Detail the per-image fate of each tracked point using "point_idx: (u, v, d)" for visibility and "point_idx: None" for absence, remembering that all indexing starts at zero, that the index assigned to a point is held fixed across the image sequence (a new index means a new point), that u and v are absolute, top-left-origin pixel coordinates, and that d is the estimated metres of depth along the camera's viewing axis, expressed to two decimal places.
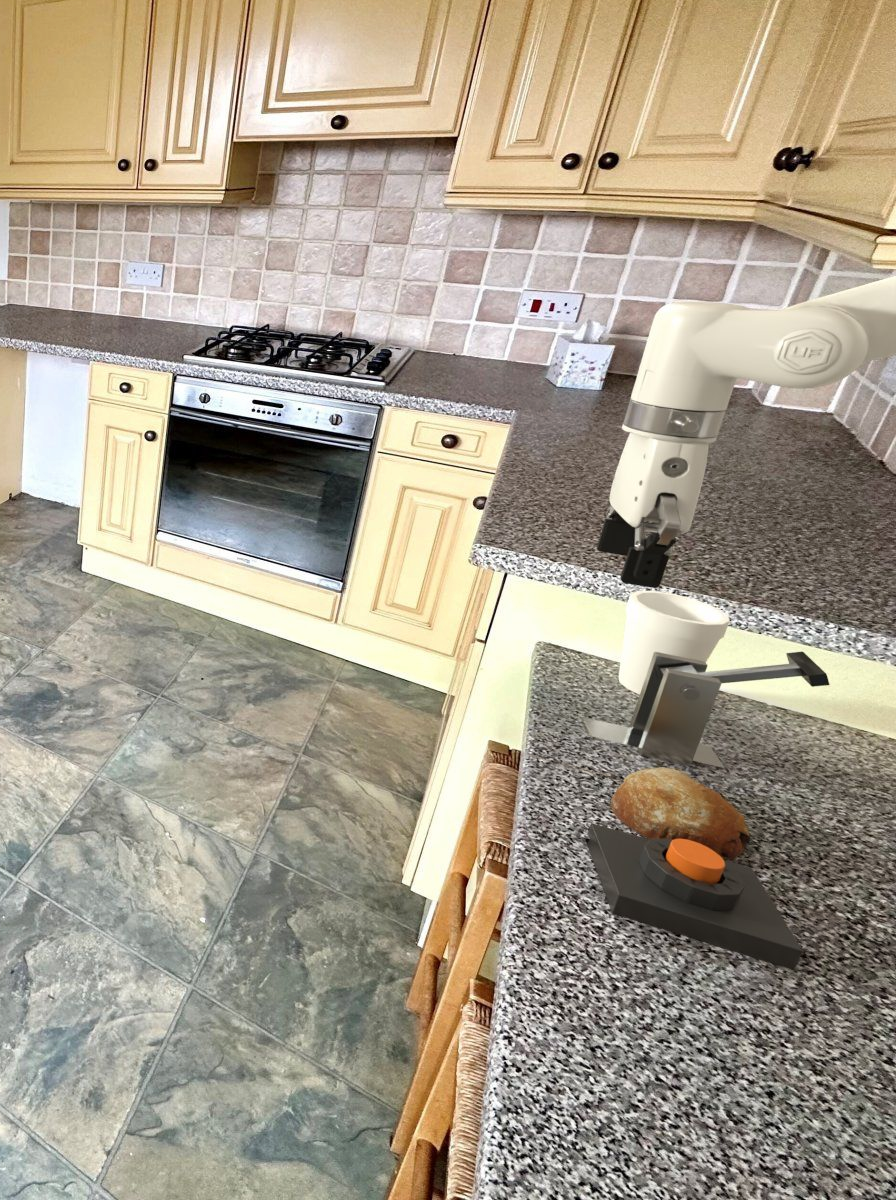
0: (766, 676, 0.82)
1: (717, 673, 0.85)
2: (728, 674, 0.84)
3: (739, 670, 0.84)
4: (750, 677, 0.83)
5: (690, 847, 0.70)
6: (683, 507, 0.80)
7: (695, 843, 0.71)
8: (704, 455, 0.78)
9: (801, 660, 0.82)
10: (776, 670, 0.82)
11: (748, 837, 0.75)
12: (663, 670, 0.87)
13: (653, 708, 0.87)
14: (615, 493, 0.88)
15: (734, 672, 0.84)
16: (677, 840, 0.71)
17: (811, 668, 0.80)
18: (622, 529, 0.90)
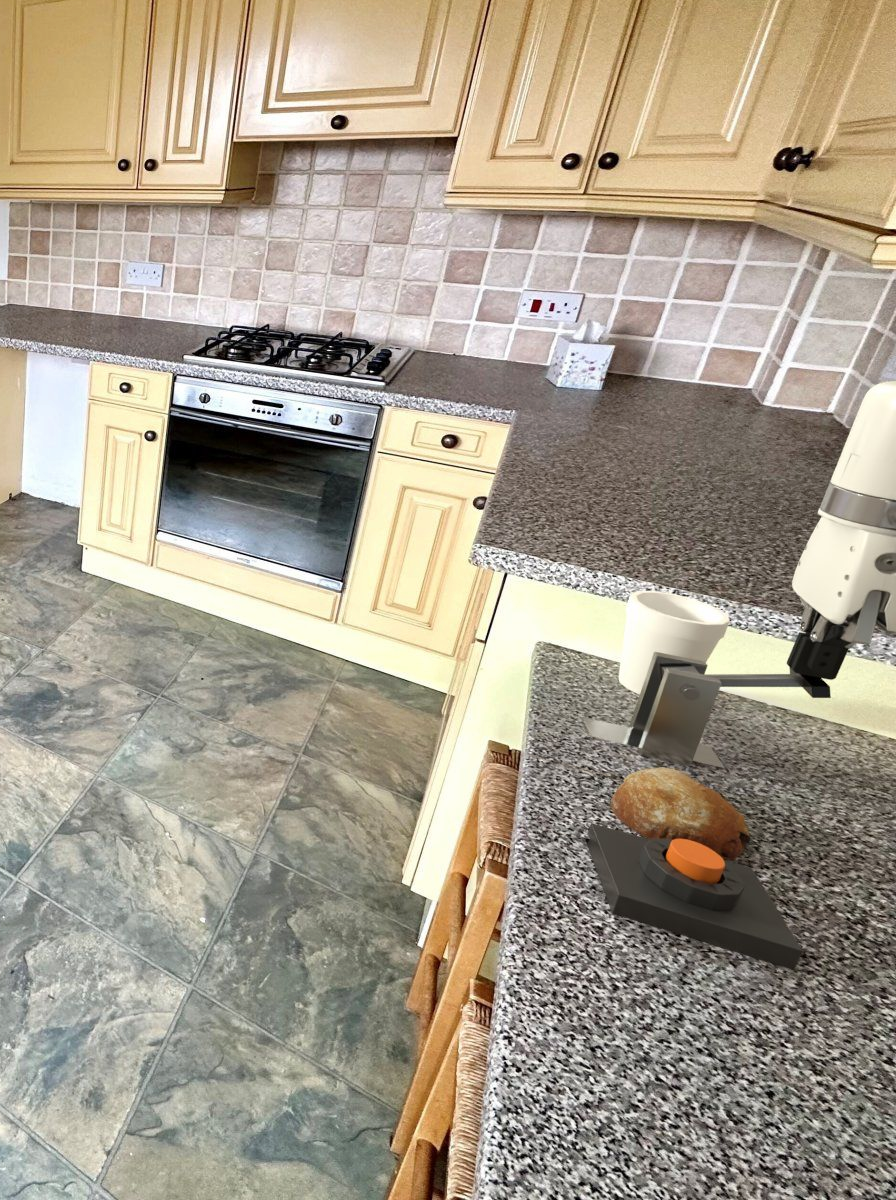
0: (767, 683, 0.83)
1: (718, 677, 0.85)
2: (730, 679, 0.84)
3: (741, 676, 0.84)
4: (751, 683, 0.83)
5: (690, 847, 0.70)
6: None
7: (695, 843, 0.71)
8: None
9: None
10: (778, 679, 0.82)
11: (748, 837, 0.75)
12: (665, 669, 0.87)
13: (653, 708, 0.87)
14: (803, 581, 0.81)
15: (735, 677, 0.84)
16: (677, 840, 0.71)
17: (814, 680, 0.80)
18: None
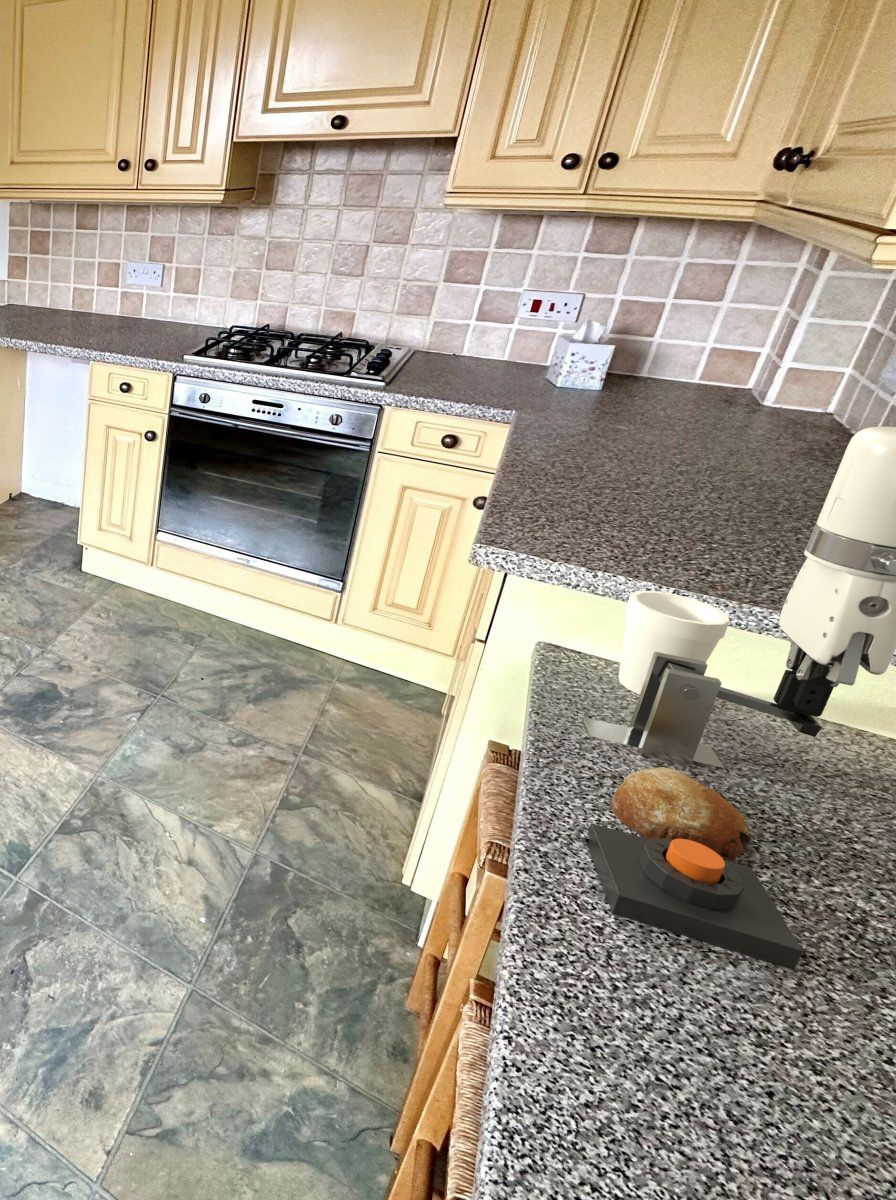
0: (760, 707, 0.83)
1: None
2: (729, 693, 0.84)
3: (739, 693, 0.84)
4: (745, 703, 0.84)
5: (690, 847, 0.70)
6: (881, 649, 0.74)
7: (695, 843, 0.71)
8: None
9: None
10: (773, 707, 0.83)
11: (748, 837, 0.75)
12: (672, 665, 0.87)
13: (653, 708, 0.87)
14: (790, 619, 0.82)
15: (734, 693, 0.84)
16: (677, 840, 0.71)
17: (807, 718, 0.81)
18: None
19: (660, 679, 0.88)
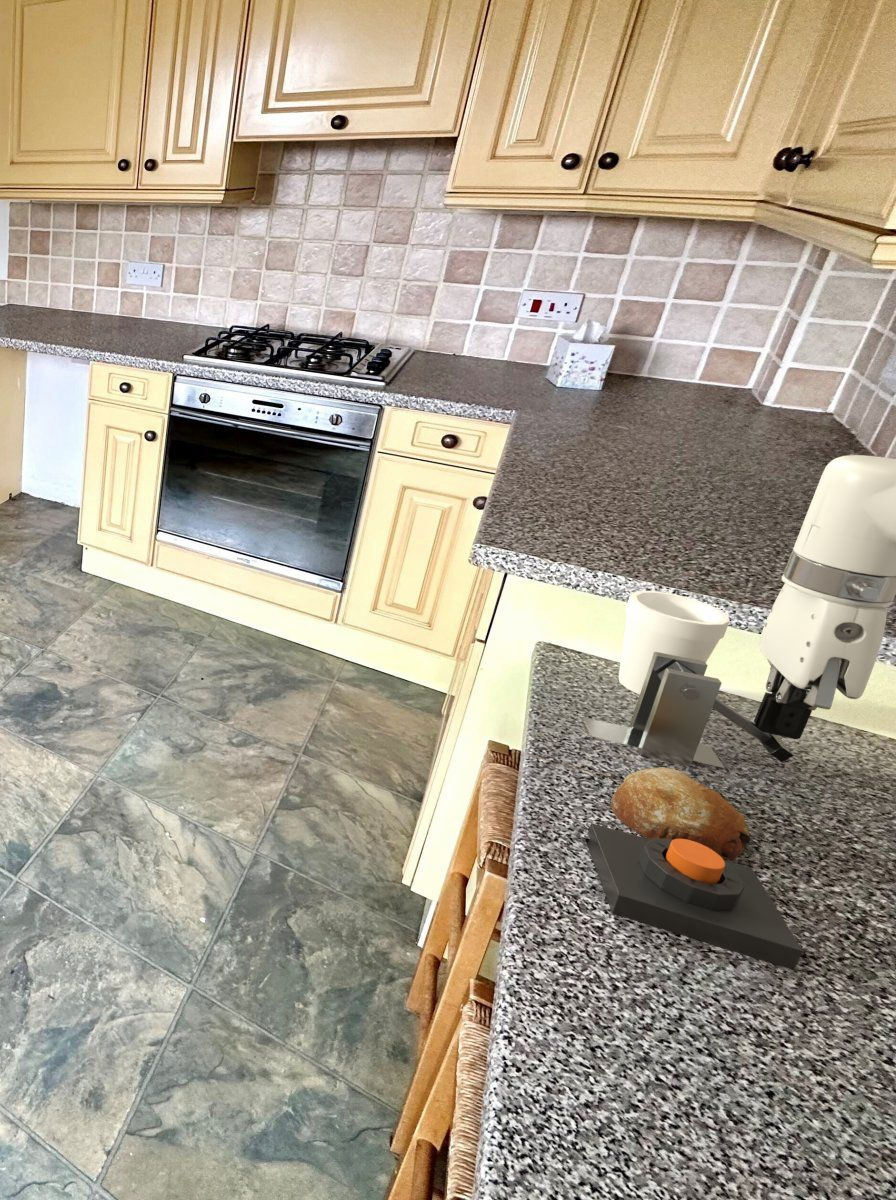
0: (742, 724, 0.84)
1: None
2: (721, 703, 0.85)
3: (729, 706, 0.85)
4: (731, 716, 0.85)
5: (690, 847, 0.70)
6: (857, 674, 0.76)
7: (695, 843, 0.71)
8: (882, 622, 0.74)
9: None
10: (754, 726, 0.84)
11: (748, 837, 0.75)
12: (679, 664, 0.86)
13: (653, 708, 0.87)
14: (769, 643, 0.84)
15: (725, 705, 0.85)
16: (677, 840, 0.71)
17: (782, 744, 0.83)
18: None
19: (660, 674, 0.88)
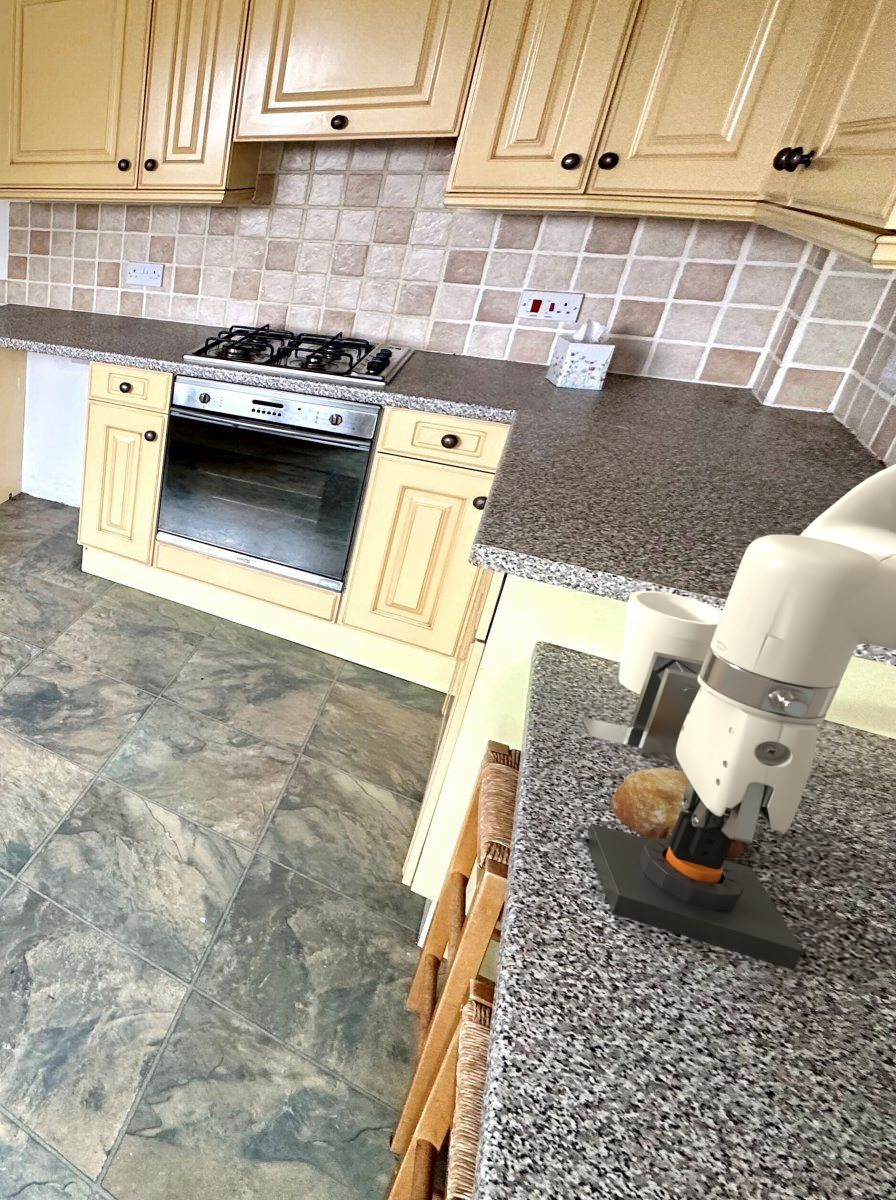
0: None
1: None
2: None
3: None
4: None
5: None
6: (782, 804, 0.62)
7: None
8: (812, 743, 0.60)
9: None
10: None
11: None
12: (679, 664, 0.86)
13: (653, 708, 0.87)
14: (685, 752, 0.70)
15: None
16: None
17: None
18: None
19: (660, 674, 0.88)
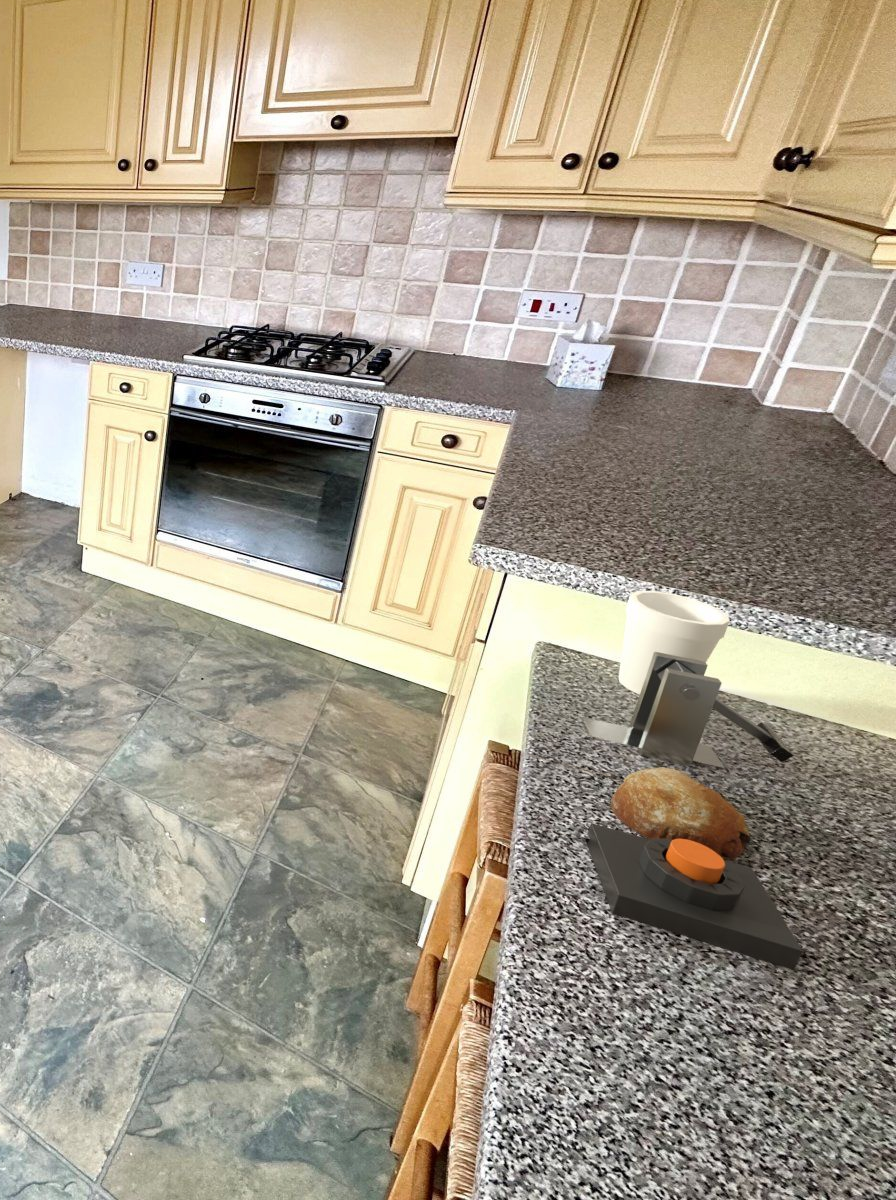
0: (742, 724, 0.84)
1: None
2: (721, 703, 0.85)
3: (729, 706, 0.85)
4: (731, 716, 0.85)
5: (690, 847, 0.70)
6: None
7: (695, 843, 0.71)
8: None
9: (774, 734, 0.84)
10: (754, 726, 0.84)
11: (748, 837, 0.75)
12: (679, 664, 0.86)
13: (653, 708, 0.87)
14: None
15: (725, 705, 0.85)
16: (677, 840, 0.71)
17: (782, 744, 0.83)
18: None
19: (660, 674, 0.88)
